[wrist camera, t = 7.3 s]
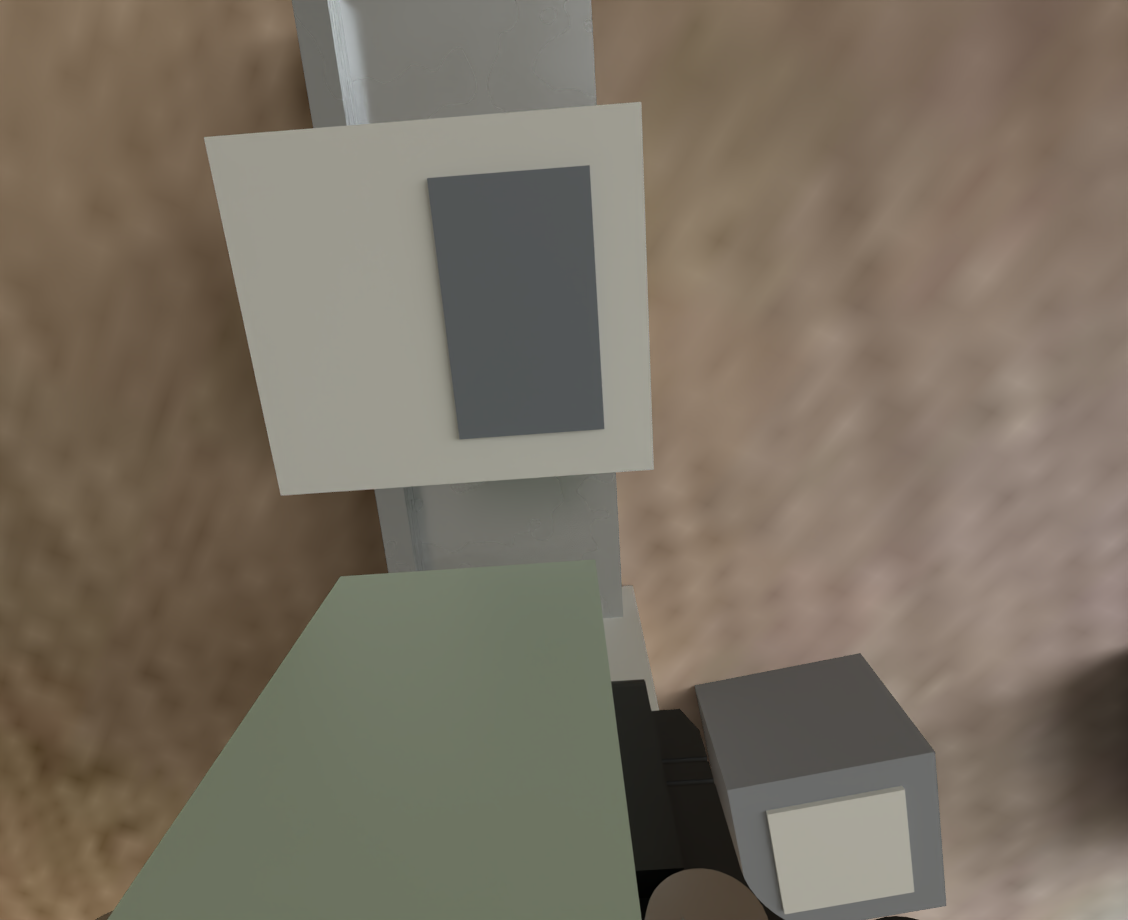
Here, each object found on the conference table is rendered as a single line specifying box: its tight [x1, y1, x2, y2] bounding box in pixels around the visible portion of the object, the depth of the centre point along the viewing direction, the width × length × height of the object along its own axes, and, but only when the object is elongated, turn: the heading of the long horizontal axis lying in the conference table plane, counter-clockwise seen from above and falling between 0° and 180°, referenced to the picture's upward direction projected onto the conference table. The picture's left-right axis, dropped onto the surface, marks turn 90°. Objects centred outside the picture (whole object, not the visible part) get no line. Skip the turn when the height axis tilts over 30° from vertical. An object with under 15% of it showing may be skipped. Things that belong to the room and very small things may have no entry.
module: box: [107, 559, 642, 920], centre depth 8 cm, size 4×5×8 cm
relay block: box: [695, 654, 946, 920], centre depth 22 cm, size 6×6×5 cm
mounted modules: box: [204, 102, 659, 711], centre depth 18 cm, size 8×20×7 cm, turn 4°
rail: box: [292, 0, 623, 618], centre depth 20 cm, size 7×28×3 cm, turn 4°
